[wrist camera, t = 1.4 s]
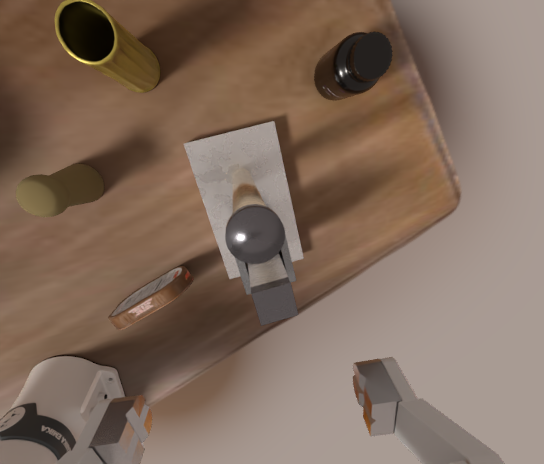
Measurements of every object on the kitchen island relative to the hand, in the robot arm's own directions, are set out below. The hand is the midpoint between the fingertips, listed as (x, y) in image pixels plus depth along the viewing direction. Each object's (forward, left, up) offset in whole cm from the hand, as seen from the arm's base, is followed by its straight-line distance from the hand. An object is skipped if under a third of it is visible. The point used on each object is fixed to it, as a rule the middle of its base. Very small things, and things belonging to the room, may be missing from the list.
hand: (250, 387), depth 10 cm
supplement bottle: (+13, -20, -38) cm, 45 cm away
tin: (-13, +18, -38) cm, 44 cm away
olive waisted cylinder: (+8, +22, -38) cm, 45 cm away
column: (-7, -2, -35) cm, 36 cm away
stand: (-2, -2, -38) cm, 38 cm away
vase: (+20, +8, -38) cm, 44 cm away
